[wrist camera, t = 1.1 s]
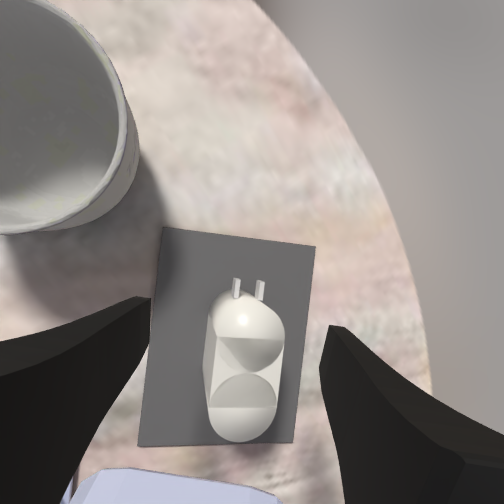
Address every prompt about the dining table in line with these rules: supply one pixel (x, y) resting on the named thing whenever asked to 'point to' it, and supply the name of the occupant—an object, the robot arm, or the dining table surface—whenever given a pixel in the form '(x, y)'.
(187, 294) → the rubber mat
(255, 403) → the plug block
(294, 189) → the dining table surface
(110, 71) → the teacup
